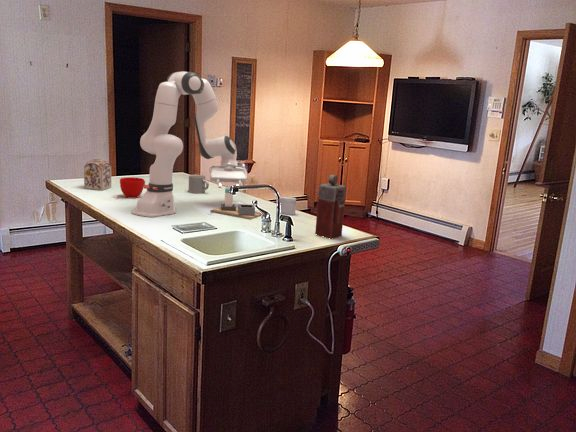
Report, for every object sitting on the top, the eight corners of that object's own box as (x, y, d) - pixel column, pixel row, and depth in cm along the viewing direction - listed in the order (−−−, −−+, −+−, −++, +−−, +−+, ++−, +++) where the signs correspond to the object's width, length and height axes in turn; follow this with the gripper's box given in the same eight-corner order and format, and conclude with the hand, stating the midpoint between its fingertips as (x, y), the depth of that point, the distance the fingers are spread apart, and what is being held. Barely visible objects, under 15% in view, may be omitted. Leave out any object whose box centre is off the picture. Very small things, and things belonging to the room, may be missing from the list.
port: (254, 215, 265) (255, 208, 264) (238, 215, 264) (239, 207, 263) (253, 212, 273) (253, 204, 272) (237, 211, 271) (238, 204, 271)
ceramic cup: (153, 195, 302) (153, 178, 299) (133, 200, 286) (133, 182, 284) (135, 192, 307) (135, 175, 304) (114, 196, 292) (114, 179, 289)
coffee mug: (185, 191, 321) (185, 175, 318) (197, 190, 328) (197, 174, 326) (199, 195, 313) (200, 178, 310) (212, 193, 320) (212, 177, 318)
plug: (232, 210, 274) (233, 189, 272) (224, 209, 274) (225, 189, 271) (231, 208, 278) (232, 188, 276) (224, 208, 277) (225, 187, 275)
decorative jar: (102, 190, 306) (101, 160, 302) (83, 189, 307) (83, 158, 304) (112, 187, 317) (111, 158, 313) (94, 185, 319) (93, 156, 315)
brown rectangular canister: (335, 240, 233) (340, 177, 227) (314, 234, 240) (319, 174, 234) (346, 236, 240) (351, 176, 234) (326, 231, 247) (331, 172, 241)
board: (250, 219, 261) (250, 217, 260) (210, 212, 271) (210, 210, 271) (263, 214, 273) (264, 212, 273) (225, 207, 283) (225, 206, 283)
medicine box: (295, 214, 280) (296, 198, 278) (293, 215, 276) (294, 199, 274) (281, 212, 282) (282, 196, 280) (278, 213, 278) (279, 197, 276)
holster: (235, 211, 273) (235, 207, 272) (221, 210, 272) (221, 206, 271) (235, 207, 280) (235, 204, 279) (221, 207, 279) (221, 203, 278)
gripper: (209, 162, 282) (209, 183, 274) (247, 164, 285) (248, 185, 278) (209, 169, 287) (208, 190, 280) (246, 171, 290) (247, 191, 283)
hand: (228, 187), depth 279 cm, fingers open, 8 cm apart
